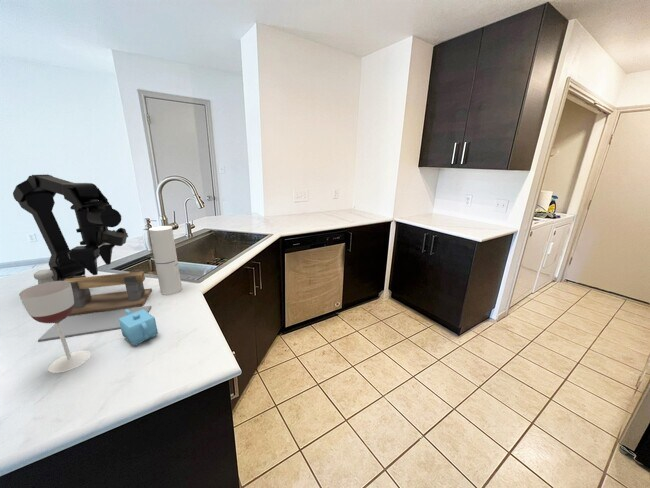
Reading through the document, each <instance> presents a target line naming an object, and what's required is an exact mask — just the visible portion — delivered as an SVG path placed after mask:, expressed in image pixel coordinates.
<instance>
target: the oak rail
mask: <svg viewBox="0 0 650 488" xmlns="http://www.w3.org/2000/svg"><path fill="white" fill-rule="evenodd" d="M128 276H136V280H137V283H142V282H143V283H144V282H145V280H146V276H145V271H143V270H142V271H141V272H132V273H129V272H123V273H112V274H102V275H92V276H86V277H81V278H70V279H65V280H64V281H68V282H77V283H78V286H79V289H87V288H89V289H94V288H103V287H104V288H105V287H115V286H122V285H125V281H124V277H128Z"/></svg>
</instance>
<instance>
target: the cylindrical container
mask: <svg viewBox="0 0 650 488" xmlns="http://www.w3.org/2000/svg"><path fill="white" fill-rule="evenodd" d="M148 233H149V237H150V242H151V249H152V253H153V259H154V263H155V269H156V274H157V275H156V276H157V279H158V286H159V291H160V294H161V295H164V296H170V295H174V294H177V293H180V292H181V291H182V290H183V286H182V281H181V280H182V279H181V273H180V267H179V262H178V257H177V249H176V243H175V237H174V231H173V226H171V225H160V226H153V227H150V228H149V229H148Z"/></svg>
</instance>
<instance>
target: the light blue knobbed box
mask: <svg viewBox="0 0 650 488" xmlns="http://www.w3.org/2000/svg"><path fill="white" fill-rule="evenodd" d="M128 309H129V308H127V309H126V310H125V311H126V313H127V316H124V317H122V318H119V323H120V327H121V329H120V331H121V334H122V336H123V337H124V339H126V340H127V341H128V342H129V343H130V344H132V346H137V345H139V344H140V343H142V342H144V341H146V340H148V339H152V338H154V337H155V336H157V335H158V334H159V332H158V327H157V322H156V317H155V316H154V315H152V314H151V313H148V312H147V311H145V310H144V309H142V310H140V311H137V312H135V313H131V312H130V310H128Z"/></svg>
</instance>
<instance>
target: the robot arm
mask: <svg viewBox="0 0 650 488" xmlns="http://www.w3.org/2000/svg"><path fill="white" fill-rule="evenodd" d="M56 194H58V195H62V196H63V199H64V200H66V201H67V202H69V203H70V204H72V205H71V206H70V207H69V208H70V210H74V212H75V216H76V221H77V224H78V228H76V233H80V235H81V238H82V241H79V244H80V245H77V246H75V247H72V248H71V249H70V247H69V244H68V243H67V241H66V239H65V237H64V235H63V232H62V230H61V227H60V226H59V224H58V221H57V218H56V217H55V215H54V213H53V209H54V206H55V204H56V203H55V199H54V198H55V196H56ZM12 196H13V199H14V200H15V201H16V203H18V204H19V206H20V207H21V209H23V210H24V211H26V212H27V213H28V214H31V215H32V217H33V219H34V221H35V224H36V225H37V227H38V230H39V232H40V234H41V235H42V236H41V237H42V238H43V240H44V242H45V245H46V246H47V248H48V250H49V253H50V257H49V261H48V266H49V270H52V271H53V276H52V279H53V280H54V281H64V280H65V279H70V278H73V277H74V276H83V275H85V276H86V270H87V271H88V273H90V274H91V275H92V276H98V261H97V260H98V258H99V257H101V259H102V260H103V262H104V263H105V265H107V266H108V265H111V263H112V254H113V249H114V248H115V247H122V246H123V245H124V244H126V243H127V238H129V234H128V233H127V230H126V228H124V227H119V228H117V229H116V230H115V229H113V230H111V229H109V228H115V227H117V226H119V225H120V223H122V222H121V221H122V214H121V213H120V212H119V211H118V210H117V209H114V208H113V207H112V206H113V205H112V204H110V202H109V201H108V200H109V199H108V198H107V197H106V196H105V195H104V193H103V192H102V191H101V190H100V188H99V187H97V185H96V184H94V183H91V182H72V181H69V180H65V179H63V178H58V177H55V176H53V175H52V174H31V175H29V176H28V177H27V179H25V180H24V181H22V182H20V183H19V184H17V185H16V186H15V188H14V190H13V192H12Z"/></svg>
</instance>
